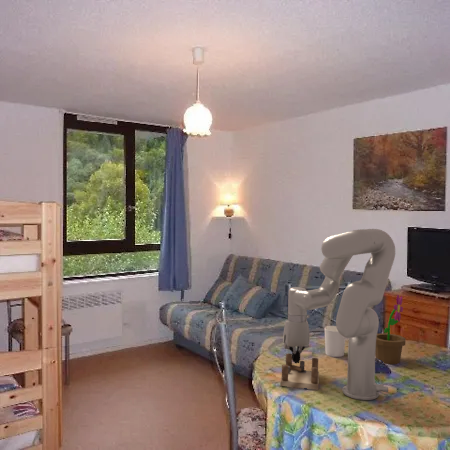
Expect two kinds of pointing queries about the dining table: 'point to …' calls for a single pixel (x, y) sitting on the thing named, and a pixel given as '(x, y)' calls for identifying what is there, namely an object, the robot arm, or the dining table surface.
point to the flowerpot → (390, 339)
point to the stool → (301, 377)
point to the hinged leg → (293, 367)
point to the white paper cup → (334, 342)
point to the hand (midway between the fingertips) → (296, 362)
